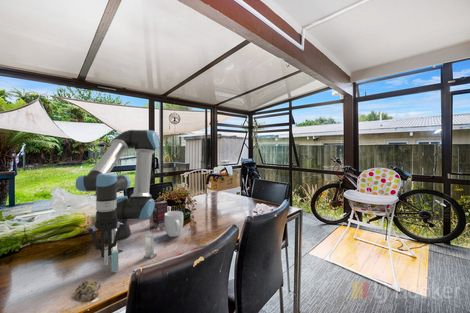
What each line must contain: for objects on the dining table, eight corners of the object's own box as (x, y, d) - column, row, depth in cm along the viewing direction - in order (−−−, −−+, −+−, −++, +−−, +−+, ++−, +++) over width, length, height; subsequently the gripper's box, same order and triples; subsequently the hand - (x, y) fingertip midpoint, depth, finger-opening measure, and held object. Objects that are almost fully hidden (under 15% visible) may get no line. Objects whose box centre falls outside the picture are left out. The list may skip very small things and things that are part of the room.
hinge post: (106, 254, 101) (106, 230, 101) (115, 249, 106) (115, 226, 105) (114, 256, 99) (113, 231, 99) (122, 251, 104) (122, 228, 104)
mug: (188, 238, 121) (188, 216, 120) (169, 242, 115) (169, 219, 114) (179, 229, 133) (179, 209, 133) (162, 233, 127) (162, 212, 127)
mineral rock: (67, 287, 73) (92, 272, 79) (71, 297, 75) (96, 281, 81) (77, 303, 67) (103, 284, 73) (81, 313, 68) (107, 294, 74)
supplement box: (163, 222, 146) (163, 200, 145) (167, 224, 143) (167, 201, 143) (152, 226, 139) (152, 203, 138) (157, 228, 136) (157, 204, 135)
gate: (111, 253, 100) (111, 237, 100) (117, 252, 101) (117, 236, 101) (111, 272, 85) (111, 253, 85) (118, 270, 86) (118, 251, 86)
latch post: (144, 257, 99) (144, 236, 98) (149, 253, 102) (149, 233, 102) (151, 259, 97) (151, 238, 97) (156, 255, 101) (156, 235, 100)
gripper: (87, 213, 82) (86, 272, 83) (124, 209, 89) (123, 263, 89) (89, 209, 89) (88, 263, 89) (123, 205, 95) (122, 256, 96)
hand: (106, 263), depth 89 cm, fingers closed
